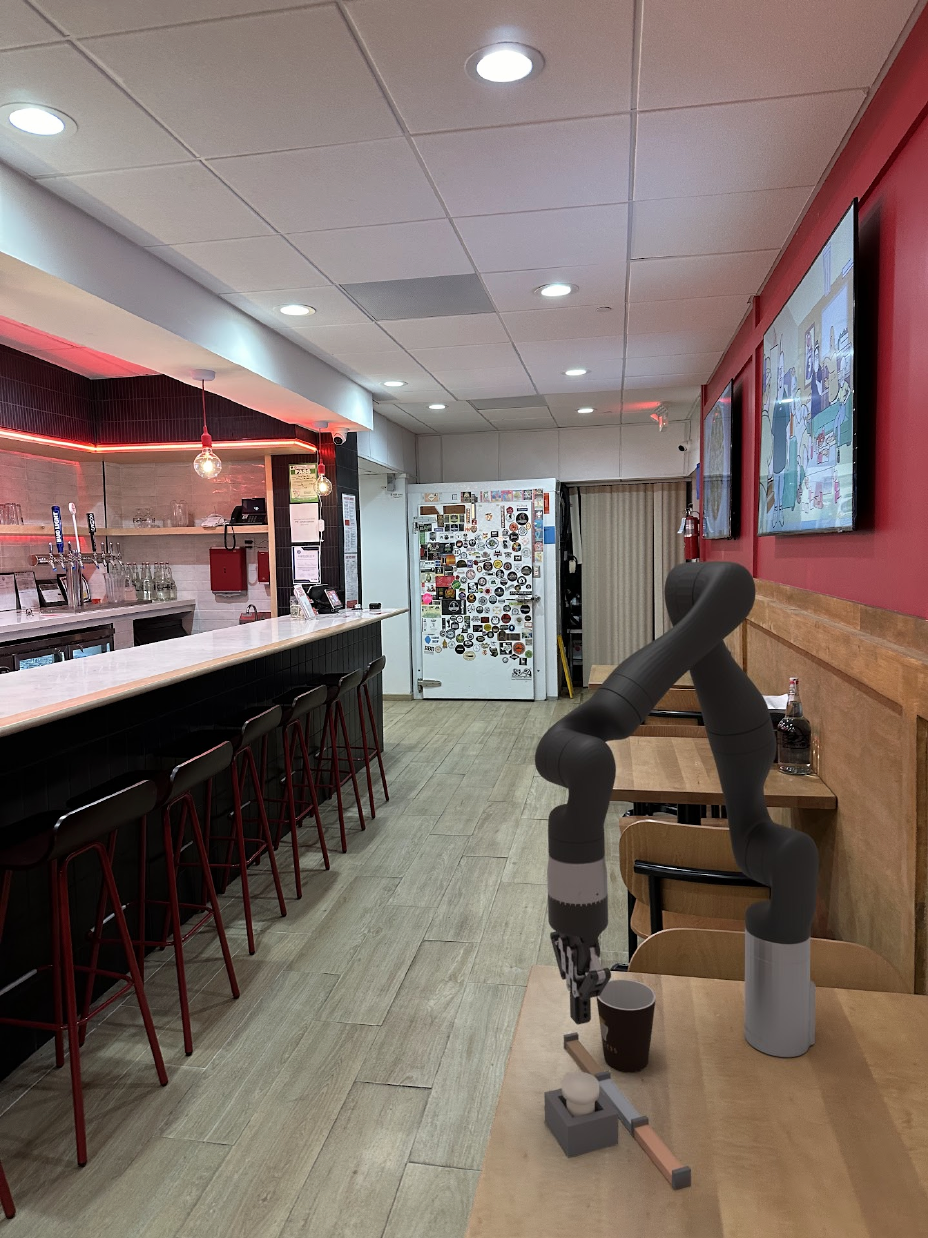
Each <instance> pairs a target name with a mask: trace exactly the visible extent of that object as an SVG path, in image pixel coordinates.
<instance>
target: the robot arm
mask: <svg viewBox="0 0 928 1238" xmlns="http://www.w3.org/2000/svg"><path fill="white" fill-rule="evenodd" d="M663 590H664V591H663V592H664V603H665V607H666V611H667V615H668V617H669V620H670V623H671V626H672V627H671V628H670V629H669V630H667V631H666V632H665V633H663V634H662V635H661V636H659V637H657V638H656V639H654V640H653V641H650V642H649V643H648V644H646V645H644V646H643V647H641V648H639V649H638V650H636V651H634V652H633V653H632V654H630V655H629V656H628V657H627V658H625V659H624V660H622V661H621V662H620V664H618V665H617V666H616V667H615V668H614V669H613V670H612V671H611V673H610V674H609V675H608V676H607V677H606V679H604V681H603V682H602V683H601V684H600V685H599V687H598V688H597V689H596V690H595V691H594V693H593V694H592V695H591V696H590V697H589V698H588V700H586V701H584V702H583V703H581V704H580V705H577V706H576V707H575V708H574V709H573V710H571V711H570V712H568V713H566V715H565V716H563V717H562V718H560V719H559V720H558V721H556V722H555V723H554V724H553V725H551V726H550V728H548V729H547V731H545V733H544V734H543V735H542V736H541V738H540V740H539V743H538V744H537V747H536V750H535V754H534V765H535V768H536V769H535V770H537V773H538V774H539V775H540V776H541V777H542V779H544V780H546V781H547V782H548V783H551V784H554V785H556V786H559V787H563V788H566V789H568V790H567V791H568V797H567V801H566V802H567V803H564V804H563V803H562V804H560V805H557V806H555V807H554V808H553V809H551V810H550V813H549V815H548V821H547V840H548V847H547V848H548V858H547V859H548V861H547V870H546V879H547V880H546V881H547V886H546V887H547V913H548V914H547V917H548V925H549V926H550V928H551V929H552V930H553V931H552V932H550V934H549V938H550V942H551V946H552V949H553V952H554V957H555V960H556V964H557V967H558V971H559V975H560V978H561V980H565V984H566V985H565V986H566V989H567V991H568V992H569V1013H570V1015H569V1017H570V1018H571V1019H572V1021H573V1022H574V1023H575V1024H576V1025H583V1024H587V1023H589V1022H590V1021H591V1019H592V1014H591V1013H592V1009H591V1008H592V1006H591V1005H592V1004H591V1001H592V1000H591V999H592V998H596V997H597V996H600V994H601V993H602V991H603V989H604V988H605V986H606V985H607V983H608V981H610V980H611V978H612V972H611V970H610V967H605V968H603V967H602V964H601V961H600V959H599V958H600V956H601V947H600V941H599V937H600V936H601V934H602V933H603V932H604V931H605V930H606V929H607V927H608V925H609V899H608V898H609V895H608V894H609V893H608V892H609V890H608V889H609V888H608V868H607V863H606V855H605V853H606V851H605V850H606V847H605V846H606V844H605V841H606V840H605V838H606V837H605V822H606V817H607V814H608V811H609V807H610V803H611V797H612V793H613V790H614V785H615V781H616V777H617V775H616V774H617V765H616V760H615V756H614V753H613V750H612V749H611V747H610V745H609V744H608V743H607V742H611V741H620V740H625V739H628V738H630V736H632V735H633V734H634V733H635V732H636V730H638V728H639V727H640V726H641V724H642V723H643V722H644V721H645V720H646V719H647V717H648V716H649V715H650V713H651V712H652V711H653V710H654V708H656V706H657V705H658V703H659V702H660V701H661V700H662V698H664V696H665V695H666V694H667V693H668V692H669V691H670V689H672V687H673V686H674V685H675V684H676V683H677V682H678V681H679V680H680V679H681V678H682V677H683V676H684V675H685V674H687V673H688V671H689V674H690V677H691V680H692V681H691V682H692V683H693V687H694V691H695V694H696V698H697V701H698V704H699V706H700V707H699V708H700V712H701V715H702V720H703V724H704V728H705V731H706V732H705V733H706V736H707V739H708V744H709V747H710V751H711V753H712V757H713V759H714V762H715V766H716V771H717V774H718V780H719V783H720V787H721V792H722V795H723V800H724V805H725V810H726V817H727V823H728V825H727V826H728V830H729V831H728V832H729V837H730V839H729V840H730V844H731V850H732V854H733V859H734V861H735V864H736V866H737V867H738V869H739V870H740V871H741V873H742V874H743V875H745V876H746V877H747V878H748V879H749V878H750V880H753V881H756V882H758V883H759V884H762V885H765V886H766V887H769V888H771V891H770V899H769V900H762V901H757V902H754V903H752V904H750V905H749V906H747V908H746V910H745V915H744V916H745V917H744V926H745V927H744V948H745V949H744V951H745V952H744V1038H745V1039H746V1041H747V1043H748V1044H749V1045H750V1046H752V1048H755V1049H756V1050H758V1051H759V1052H762V1053H764V1054H767V1055H771V1056H774V1057H780V1058H792V1057H793V1058H794V1057H798V1056H799V1057H800V1056H801V1055H803V1054H805V1053H806V1052H807V1051H808V1050H809V1048H810V1046H812V1045H813V1046H814V1045H815V1043H816V1041H815V1039H816V1038H815V1037H816V1030H815V1029H816V984H815V982H814V981H813V980H811V929H812V923H813V921H814V917H815V914H816V910H817V909H816V907H817V893H818V877H819V862H820V861H819V851H818V847H817V845H816V843H815V841H814V839H813V838H812V837H811V836H810V835H809V834H807V833H805V832H803V831H800V830H797V829H794V828H791V827H789V826H785V825H782V824H779V823H776V822H774V820H773V819H772V817H771V815H770V813H769V809H768V806H767V803H766V797H765V790H764V789H765V783H766V781H767V779H768V776H769V773H770V772H771V769H772V767H773V764H774V761H775V759H776V754H777V745H778V744H777V737H776V733H775V728H774V725H773V721H772V717H771V713H770V710H769V707H768V703H767V702H766V700H765V697H764V696H763V694H762V693H761V691H760V690H759V688H758V687H757V686H756V684H755V683H754V682H753V681H752V680H751V678H750V677H749V676H748V674H747V673H746V672H745V671H744V670H743V668H741V666H740V665H739V664H738V662H737V661H736V660H735V659H734V657H733V656H732V655H731V654H732V653H730V651H729V649H728V647H727V646H726V642H725V639H726V638H727V637H728V636H729V635H731V633H733V632H734V631H735V630H736V629H737V628H738V627H739V626H740V625H741V624H742V623H743V622H745V620H746V619H747V617H748V616H749V615H750V614H751V611H752V610H753V607H754V605H755V600H756V592H757V591H756V584H755V580H754V577H753V575H752V574H751V572H750V571H749V570H748V568H747V567H745V566H744V565H742V564H740V563H738V562H733V561H723V560H722V561H718V560H715V561H689V562H682V563H678V564H676V565H675V566H674V567H672V569H671V570H670V571H669V572H668V573H667V576H666V579H665V583H664V589H663Z"/></svg>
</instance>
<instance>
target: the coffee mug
mask: <svg viewBox="0 0 928 1238" xmlns="http://www.w3.org/2000/svg"><path fill="white" fill-rule="evenodd" d="M595 998H596V1002H597V1003H596V1004H597V1013H598V1021H599V1028H600V1029H599V1030H600V1034H601V1036H600V1037H601V1043H602V1044H601V1045H602V1051H603V1053H602V1054H603V1059H604V1062H605V1063H606V1065H607V1066H608V1067H609V1068H611V1069H613V1070H614V1071H617V1072H621V1073H624V1074H625V1073H626V1074H632V1073H633V1074H634V1073H639V1072H641V1071H643V1070H644V1069H646V1068H647V1067H648V1064H649V1058H650V1057H649V1056H650V1050H651V1041H652V1034H653V1033H652V1032H653V1026H654V1017H655V1008H656V1007H655V1006H656V998H657V996H656V993H655V991H654V989H652V988H651V987H650V986H648V985H647V984H645V983H643V982H640V981H637V980H633V979H626V978H624V979H623V978H621V979H620V978H617V979H610V980H609V981H608V983H607V985H606V986H605V988H604V989H603V991H602V993H601V994H600V996H597V997H595Z"/></svg>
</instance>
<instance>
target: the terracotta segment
mask: <svg viewBox="0 0 928 1238" xmlns="http://www.w3.org/2000/svg"><path fill="white" fill-rule="evenodd" d="M649 1118H650V1117H648V1115H643V1116H642V1115H641V1117H638V1118H634V1119H631V1132H630V1135H631V1136H632V1137H633V1138H634V1139H635V1140H636V1141H637V1143H638V1144H639V1145H640V1147H641V1148H642V1149H643V1150H644V1152H645V1153H646V1154H647V1155H648V1157H649V1158H650V1159H651V1161H652V1162H653V1163H654V1164H655V1166H656V1167H657V1168H658V1170H659V1171H660V1173H662V1174H663V1176H664V1178H665V1179H666V1180H667V1182H668V1183H669V1184H670V1185H671V1187H672V1189H673V1190H674V1191H677V1190H679V1189H683V1188H686V1187H690V1186H691V1185H692V1169H691V1167H690V1166H689V1165H686V1166H683V1165H682V1164H681V1163H680V1162H679V1160H678V1159H677V1158H676V1157H675V1156H674V1154H672V1152H671V1151H670V1150H669V1148H668V1147H667V1146H666V1144H665V1143H664V1142H663V1141H662V1140H661V1138H660V1137H659V1136H658V1135H657V1133H655V1131H654V1130H653V1128H652V1127H651V1126H650V1125H649V1122H650V1121H649Z"/></svg>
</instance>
